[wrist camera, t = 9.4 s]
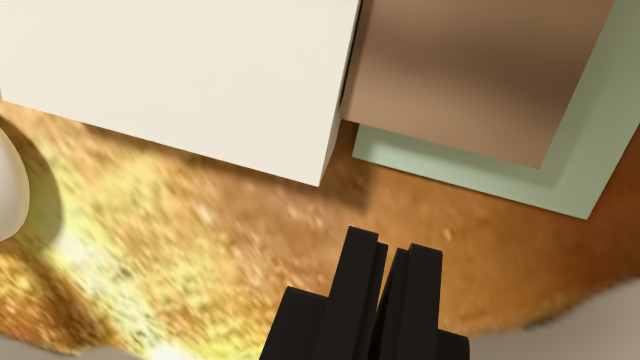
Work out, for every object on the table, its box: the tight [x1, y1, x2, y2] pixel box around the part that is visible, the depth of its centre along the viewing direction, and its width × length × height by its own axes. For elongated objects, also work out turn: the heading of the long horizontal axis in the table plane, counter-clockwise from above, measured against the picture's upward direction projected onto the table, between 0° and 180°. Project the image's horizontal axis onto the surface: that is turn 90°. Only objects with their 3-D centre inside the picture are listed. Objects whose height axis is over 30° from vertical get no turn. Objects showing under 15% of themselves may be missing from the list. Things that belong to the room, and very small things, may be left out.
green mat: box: [352, 0, 640, 220], centre depth 26 cm, size 16×12×1 cm
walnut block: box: [339, 0, 615, 169], centre depth 25 cm, size 9×9×2 cm
